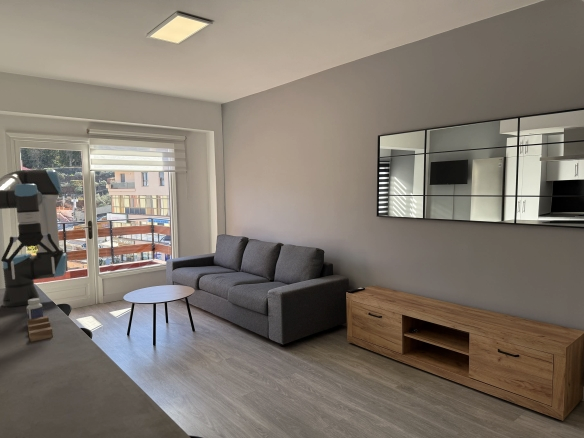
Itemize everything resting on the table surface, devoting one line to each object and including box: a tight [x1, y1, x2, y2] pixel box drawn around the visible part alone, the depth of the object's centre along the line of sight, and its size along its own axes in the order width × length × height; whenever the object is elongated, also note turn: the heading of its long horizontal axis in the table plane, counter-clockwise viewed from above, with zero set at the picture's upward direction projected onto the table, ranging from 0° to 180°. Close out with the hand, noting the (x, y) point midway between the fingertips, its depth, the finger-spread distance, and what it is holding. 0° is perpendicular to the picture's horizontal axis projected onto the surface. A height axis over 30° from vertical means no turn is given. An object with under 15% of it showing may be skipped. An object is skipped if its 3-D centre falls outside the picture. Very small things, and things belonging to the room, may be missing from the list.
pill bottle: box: [26, 297, 44, 320], centre depth 165 cm, size 5×5×10 cm
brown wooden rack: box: [27, 315, 54, 343], centre depth 154 cm, size 20×7×3 cm, turn 35°
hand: (34, 275), depth 162 cm, fingers open, 13 cm apart
